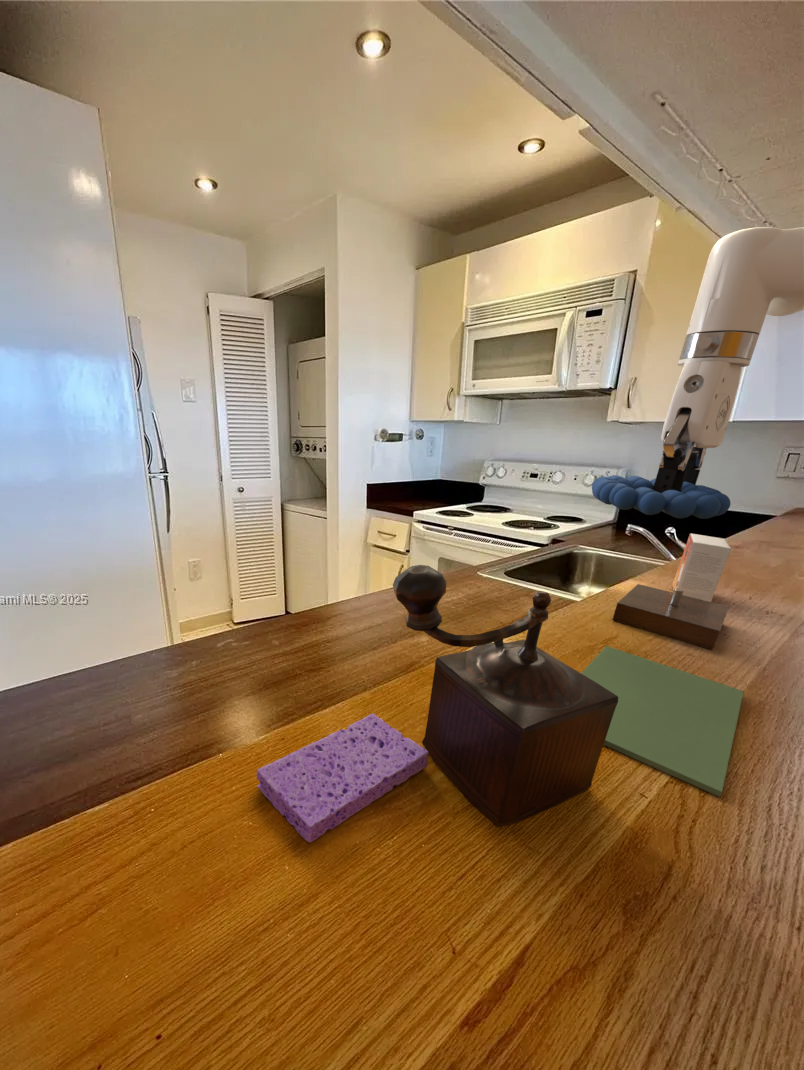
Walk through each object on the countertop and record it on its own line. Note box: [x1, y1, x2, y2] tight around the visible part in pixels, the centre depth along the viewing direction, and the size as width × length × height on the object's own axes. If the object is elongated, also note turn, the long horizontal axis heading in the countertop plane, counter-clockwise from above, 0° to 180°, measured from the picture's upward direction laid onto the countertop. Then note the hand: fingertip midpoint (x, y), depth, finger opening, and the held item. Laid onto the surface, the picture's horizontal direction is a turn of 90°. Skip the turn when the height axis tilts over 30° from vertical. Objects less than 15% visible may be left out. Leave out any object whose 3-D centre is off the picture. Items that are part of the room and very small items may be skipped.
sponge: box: [256, 713, 429, 843], centre depth 39 cm, size 7×13×2 cm, turn 131°
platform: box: [611, 583, 730, 651], centre depth 73 cm, size 13×13×6 cm
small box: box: [671, 533, 732, 602], centre depth 85 cm, size 8×6×10 cm
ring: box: [591, 474, 731, 520], centre depth 63 cm, size 18×15×3 cm
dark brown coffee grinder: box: [392, 564, 618, 828], centre depth 37 cm, size 16×11×18 cm
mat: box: [580, 645, 745, 798], centre depth 52 cm, size 22×15×1 cm
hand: (671, 496), depth 66 cm, fingers closed on ring, 4 cm apart
